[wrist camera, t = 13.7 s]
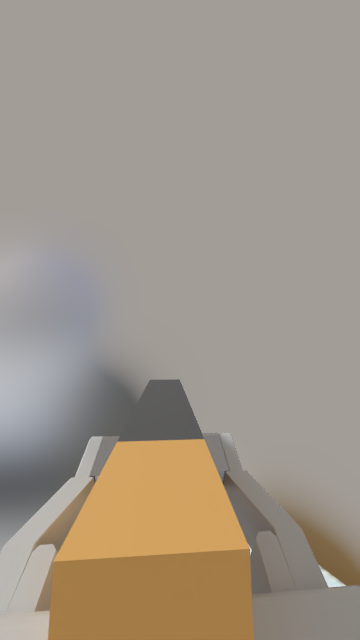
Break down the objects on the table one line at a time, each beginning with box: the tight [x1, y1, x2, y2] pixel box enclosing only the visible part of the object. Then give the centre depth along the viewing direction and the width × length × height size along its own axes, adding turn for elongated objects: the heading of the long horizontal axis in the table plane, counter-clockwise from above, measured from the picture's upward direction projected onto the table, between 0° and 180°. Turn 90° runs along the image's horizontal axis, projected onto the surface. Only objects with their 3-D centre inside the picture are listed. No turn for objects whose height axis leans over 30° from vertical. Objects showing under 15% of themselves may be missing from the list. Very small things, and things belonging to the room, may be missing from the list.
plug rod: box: [48, 380, 254, 640], centre depth 12 cm, size 3×18×3 cm, turn 4°
